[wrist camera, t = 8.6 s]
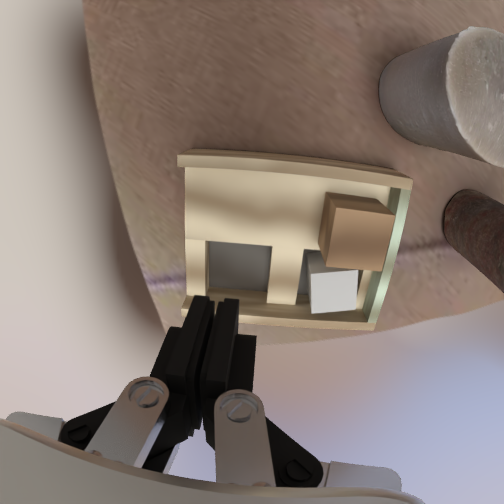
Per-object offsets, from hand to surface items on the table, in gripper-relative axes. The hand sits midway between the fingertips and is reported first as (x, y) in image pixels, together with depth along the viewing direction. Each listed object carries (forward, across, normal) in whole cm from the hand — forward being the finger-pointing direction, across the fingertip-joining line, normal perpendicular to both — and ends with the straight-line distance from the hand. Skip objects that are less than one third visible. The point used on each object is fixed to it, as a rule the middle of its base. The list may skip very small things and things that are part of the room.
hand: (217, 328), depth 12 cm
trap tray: (+21, -4, +4) cm, 22 cm away
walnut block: (+18, -9, +2) cm, 21 cm away
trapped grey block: (+20, -9, +8) cm, 24 cm away
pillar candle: (+21, -16, -12) cm, 29 cm away
